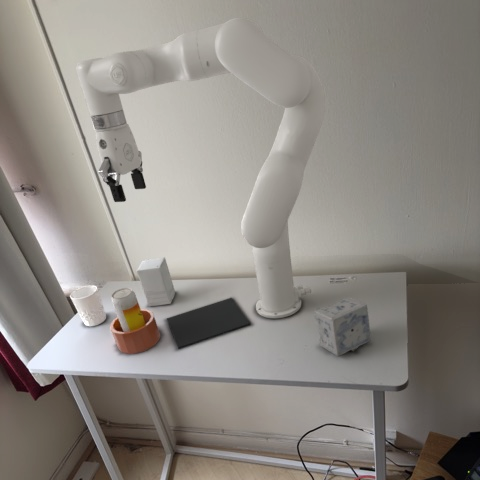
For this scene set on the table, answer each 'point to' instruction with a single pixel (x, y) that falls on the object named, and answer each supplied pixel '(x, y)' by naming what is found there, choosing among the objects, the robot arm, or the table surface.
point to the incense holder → (343, 326)
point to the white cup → (89, 305)
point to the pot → (136, 335)
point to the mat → (206, 322)
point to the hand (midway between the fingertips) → (130, 194)
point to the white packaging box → (156, 281)
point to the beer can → (127, 309)
